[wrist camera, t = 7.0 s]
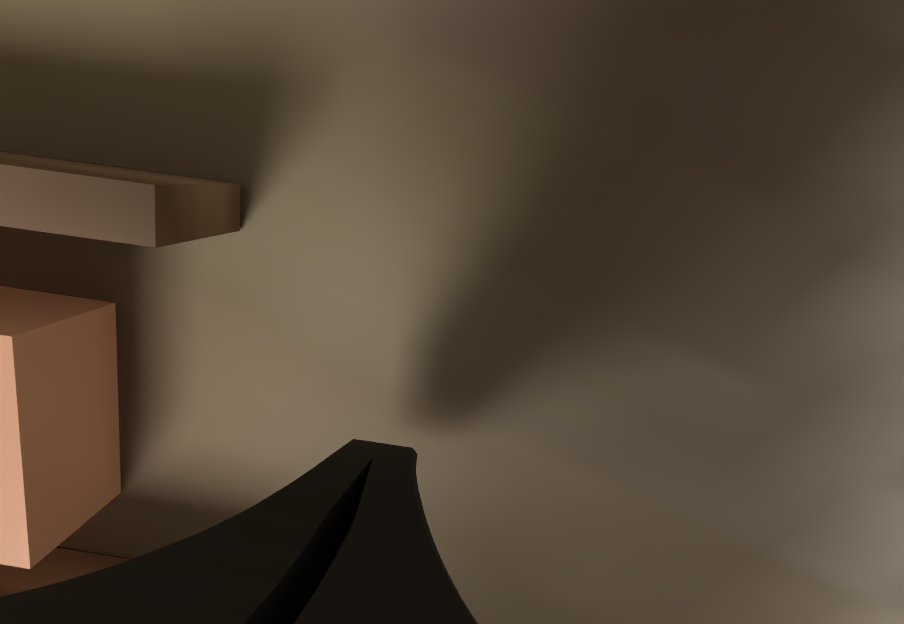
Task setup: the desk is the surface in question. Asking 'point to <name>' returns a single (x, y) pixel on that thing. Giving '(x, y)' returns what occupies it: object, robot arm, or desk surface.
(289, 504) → the robot arm
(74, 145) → the desk surface
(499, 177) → the desk surface
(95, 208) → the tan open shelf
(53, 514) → the salmon pink block
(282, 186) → the desk surface
